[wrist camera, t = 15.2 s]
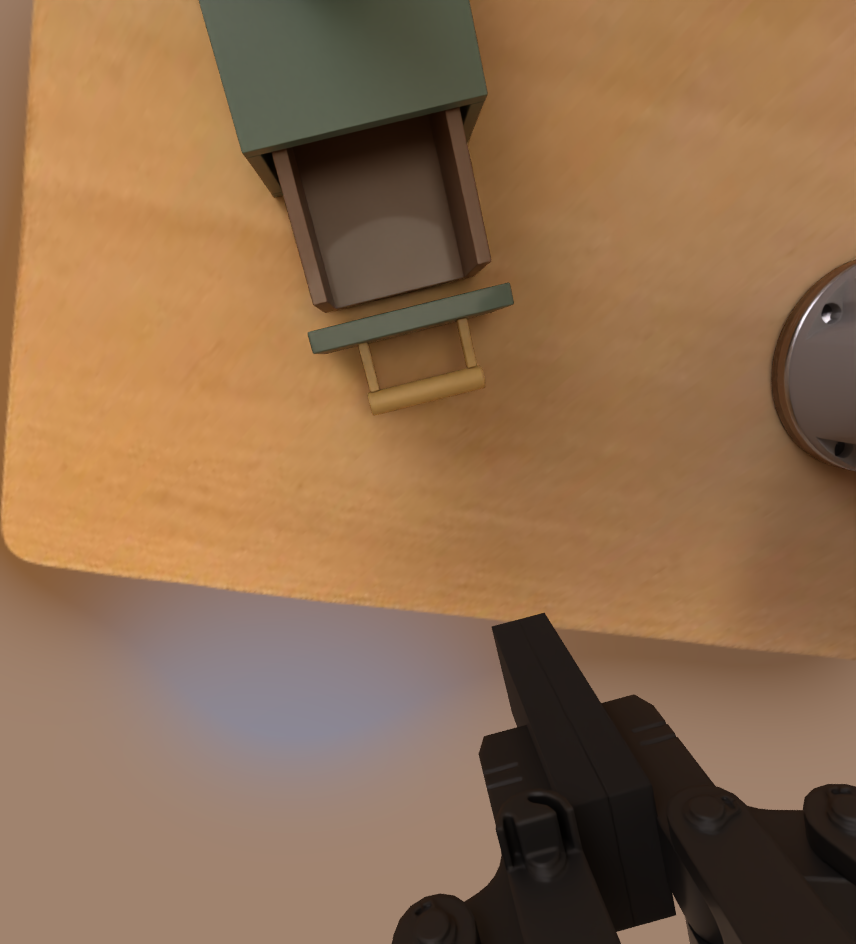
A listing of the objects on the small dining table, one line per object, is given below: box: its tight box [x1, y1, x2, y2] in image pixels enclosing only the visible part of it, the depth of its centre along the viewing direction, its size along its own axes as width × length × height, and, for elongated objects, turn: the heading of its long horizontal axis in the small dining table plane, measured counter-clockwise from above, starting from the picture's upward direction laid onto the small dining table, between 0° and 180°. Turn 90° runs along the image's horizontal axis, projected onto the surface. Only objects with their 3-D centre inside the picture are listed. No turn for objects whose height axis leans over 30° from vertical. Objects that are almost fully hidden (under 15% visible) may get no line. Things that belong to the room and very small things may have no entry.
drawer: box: [271, 107, 514, 416], centre depth 35 cm, size 19×11×7 cm, turn 14°
